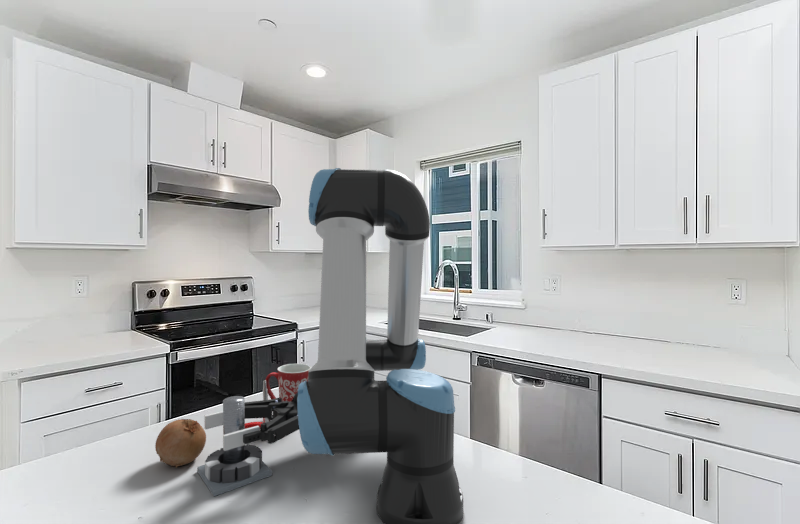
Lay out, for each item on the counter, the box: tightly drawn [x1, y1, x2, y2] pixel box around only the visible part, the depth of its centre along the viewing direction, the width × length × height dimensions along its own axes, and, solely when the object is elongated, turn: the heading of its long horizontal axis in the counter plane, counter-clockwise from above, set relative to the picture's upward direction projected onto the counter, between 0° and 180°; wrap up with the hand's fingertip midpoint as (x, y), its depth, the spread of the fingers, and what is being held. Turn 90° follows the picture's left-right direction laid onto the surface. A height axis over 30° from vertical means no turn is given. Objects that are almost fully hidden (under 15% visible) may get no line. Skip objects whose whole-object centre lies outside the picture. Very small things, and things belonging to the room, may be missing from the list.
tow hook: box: [245, 379, 271, 429], centre depth 102 cm, size 8×13×9 cm
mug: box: [265, 363, 312, 402], centre depth 111 cm, size 13×9×14 cm
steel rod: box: [222, 395, 246, 464], centre depth 82 cm, size 4×4×14 cm
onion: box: [154, 418, 207, 469], centre depth 87 cm, size 10×9×10 cm
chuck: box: [196, 444, 273, 497], centre depth 82 cm, size 11×11×4 cm
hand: (213, 432), depth 80 cm, fingers open, 11 cm apart
